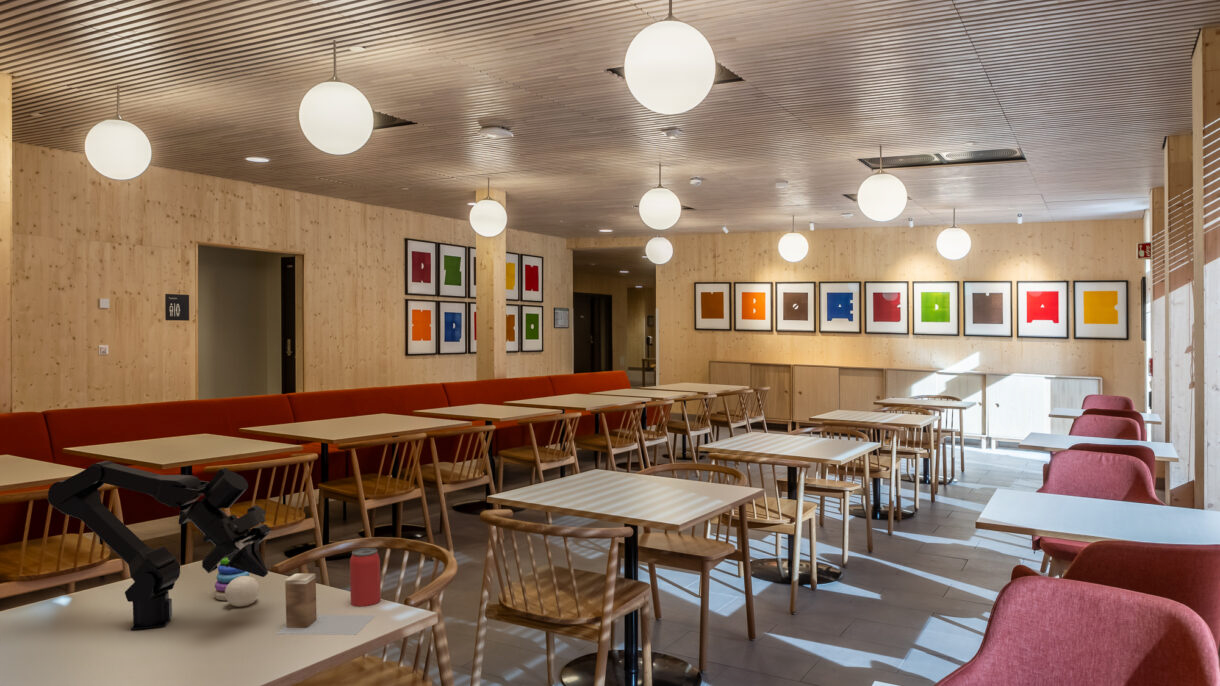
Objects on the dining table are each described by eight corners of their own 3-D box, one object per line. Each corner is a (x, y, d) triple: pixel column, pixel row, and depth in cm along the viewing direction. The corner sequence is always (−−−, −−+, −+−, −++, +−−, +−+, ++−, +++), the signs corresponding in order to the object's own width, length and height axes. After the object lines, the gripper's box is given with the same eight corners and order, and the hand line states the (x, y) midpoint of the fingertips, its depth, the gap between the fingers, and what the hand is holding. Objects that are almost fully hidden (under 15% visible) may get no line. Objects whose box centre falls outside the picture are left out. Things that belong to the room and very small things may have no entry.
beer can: (386, 600, 186) (385, 548, 186) (367, 610, 180) (365, 556, 180) (364, 597, 189) (363, 545, 188) (344, 606, 183) (343, 553, 182)
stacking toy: (242, 601, 187) (239, 521, 186) (207, 602, 187) (205, 521, 186) (257, 590, 195) (255, 513, 194) (224, 590, 195) (222, 513, 194)
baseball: (233, 600, 188) (232, 572, 187) (264, 600, 187) (263, 572, 187) (218, 611, 181) (217, 581, 181) (250, 611, 180) (249, 581, 180)
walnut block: (286, 627, 169) (285, 580, 169) (296, 619, 173) (295, 573, 173) (307, 627, 168) (306, 580, 168) (316, 620, 173) (315, 573, 173)
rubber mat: (275, 635, 166) (275, 633, 166) (299, 616, 177) (299, 614, 176) (356, 636, 164) (356, 634, 164) (375, 617, 175) (375, 615, 175)
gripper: (215, 506, 162) (269, 561, 161) (261, 487, 181) (310, 536, 180) (178, 545, 163) (232, 600, 162) (228, 522, 181) (277, 571, 181)
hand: (265, 575), depth 171 cm, fingers closed
